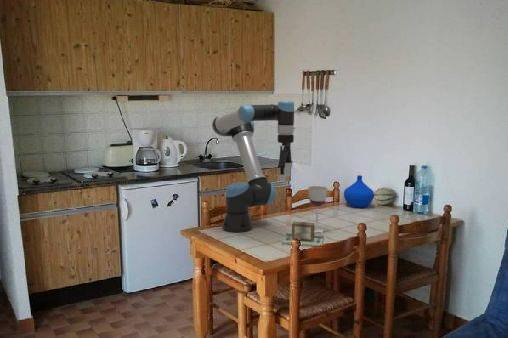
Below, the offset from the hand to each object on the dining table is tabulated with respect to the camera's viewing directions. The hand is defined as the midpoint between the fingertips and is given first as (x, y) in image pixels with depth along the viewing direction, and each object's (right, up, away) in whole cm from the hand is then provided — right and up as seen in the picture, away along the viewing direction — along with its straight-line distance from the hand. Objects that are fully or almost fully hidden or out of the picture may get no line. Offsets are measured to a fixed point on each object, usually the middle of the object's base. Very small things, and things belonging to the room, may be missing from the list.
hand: (285, 178), depth 218 cm
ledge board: (+8, -30, -3) cm, 31 cm away
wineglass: (+17, -27, +16) cm, 35 cm away
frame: (+8, -29, -3) cm, 30 cm away
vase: (+50, -19, +66) cm, 85 cm away
